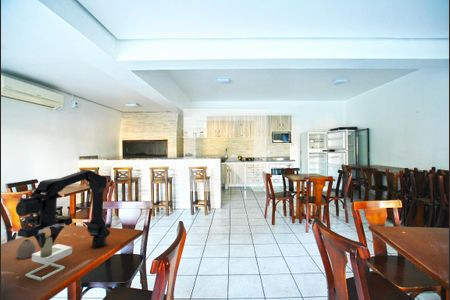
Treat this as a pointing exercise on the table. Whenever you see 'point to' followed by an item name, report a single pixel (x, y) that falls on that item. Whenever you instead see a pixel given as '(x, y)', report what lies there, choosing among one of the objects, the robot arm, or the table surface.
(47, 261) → the white block with recess
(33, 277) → the tray
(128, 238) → the table surface
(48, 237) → the plug
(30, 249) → the vase
